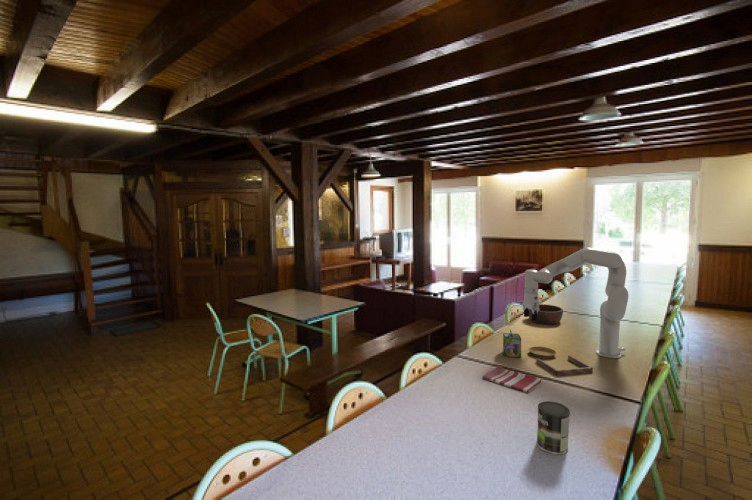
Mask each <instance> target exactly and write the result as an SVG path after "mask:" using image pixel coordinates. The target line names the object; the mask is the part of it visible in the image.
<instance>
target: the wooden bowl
mask: <svg viewBox="0 0 752 500" xmlns="http://www.w3.org/2000/svg"><path fill="white" fill-rule="evenodd" d="M533 309H535V308H533ZM539 309H540V310H539V312H538V314H537V320H535V321H532V314H533V313H532V310H531V309H529V320H530V321H531V322H533V323H535V324H540V325H557V324H559V323H560V322H561V321H562V318H563V315H564V314H563V313H564V309H563V308H562V307H560V306H557V305H553V304H552V305H551V304H543V303H539ZM534 311H535V310H534Z"/></svg>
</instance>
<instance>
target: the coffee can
mask: <svg viewBox="0 0 752 500" xmlns="http://www.w3.org/2000/svg"><path fill="white" fill-rule="evenodd" d="M537 409H538V410H537V429H536V430H537V433H536V434H537V435H536V445H537V446H538V447H539V449H541V450H542V451H544V452H546V453H548V454H552V455H564V454H567V452H568V451H569V433H570V432H569V431H570V430H569V428H570V413H571V411H570V408H568V407H567V406H566V405H564V404H562V403H559V402H555V401H550V400H549V401H541V402H539V403H538V404H537Z"/></svg>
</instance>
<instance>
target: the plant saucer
mask: <svg viewBox="0 0 752 500" xmlns="http://www.w3.org/2000/svg"><path fill="white" fill-rule="evenodd" d="M528 351H529V353H530V354H531V355H533V356H534V357H536V358H539V359H550V358H553V357H554V356H555V355H556V354H557V351H556V350H555V349H552V348H550V347H545V346H532V347H529V348H528Z"/></svg>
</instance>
